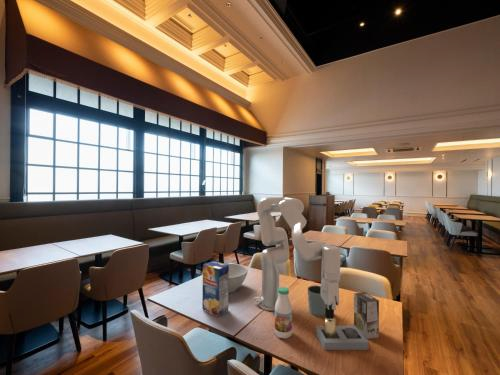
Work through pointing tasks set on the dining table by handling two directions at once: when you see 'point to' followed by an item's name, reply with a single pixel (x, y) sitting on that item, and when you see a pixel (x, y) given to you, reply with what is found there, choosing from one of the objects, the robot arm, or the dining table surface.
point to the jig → (343, 339)
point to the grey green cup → (316, 301)
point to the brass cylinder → (330, 328)
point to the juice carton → (215, 287)
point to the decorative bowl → (236, 276)
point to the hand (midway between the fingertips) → (329, 317)
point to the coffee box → (366, 315)
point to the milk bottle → (283, 314)
